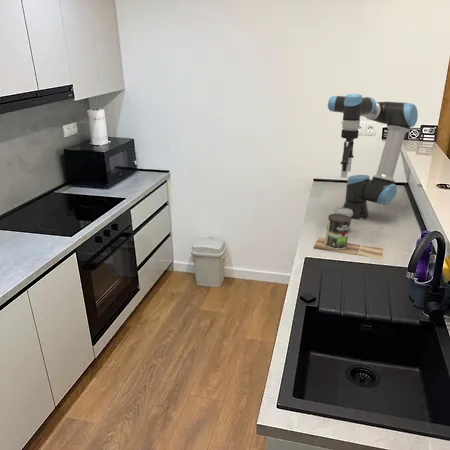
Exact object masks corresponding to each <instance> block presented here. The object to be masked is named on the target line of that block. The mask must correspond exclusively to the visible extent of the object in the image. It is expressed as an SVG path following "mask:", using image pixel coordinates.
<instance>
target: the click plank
mask: <svg viewBox="0 0 450 450" xmlns="http://www.w3.org/2000/svg"><path fill="white" fill-rule="evenodd" d="M324 243H325V238H324V237H318V238H317V240H316V242H315V243H314V245H313V249H314V250H320V251H327V252H334V253H341V254H348V255H354V256H359V252H360V248H361V244H356V243H349V242H347V245H346V248H345V249H342V250H336V249H331V248H328V247H327V246H325V244H324Z"/></svg>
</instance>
